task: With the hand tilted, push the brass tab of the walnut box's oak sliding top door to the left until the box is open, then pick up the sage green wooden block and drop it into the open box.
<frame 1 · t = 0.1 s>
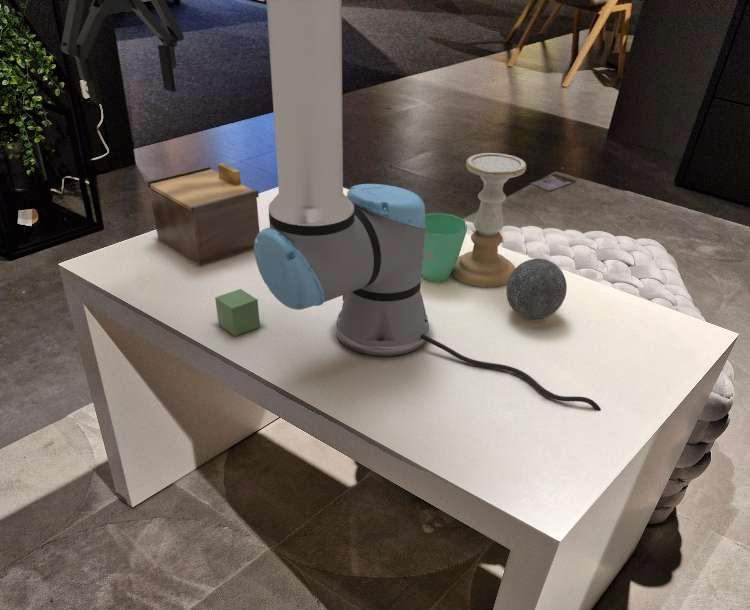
hand: (134, 96, 124), 28 cm above the table, tool pointing down, fingers open, 13 cm apart
mug: (426, 272, 140), on the table
decorative ball: (531, 317, 128), on the table
sliding lid: (201, 182, 140), point 12 cm above the table, slide at 0.0 cm
candle holder: (482, 274, 141), on the table
block: (239, 325, 124), on the table
walnut box: (209, 242, 148), on the table
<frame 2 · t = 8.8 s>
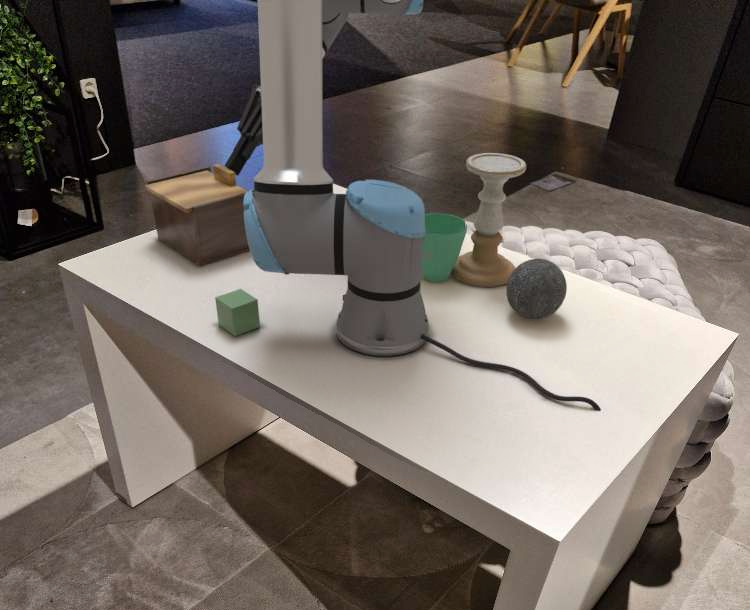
hand: (231, 170, 143), 13 cm above the table, tool tilted 45°, fingers closed
sliding lid: (196, 184, 140), point 12 cm above the table, slide at 1.1 cm, touching gripper
everything else where it was.
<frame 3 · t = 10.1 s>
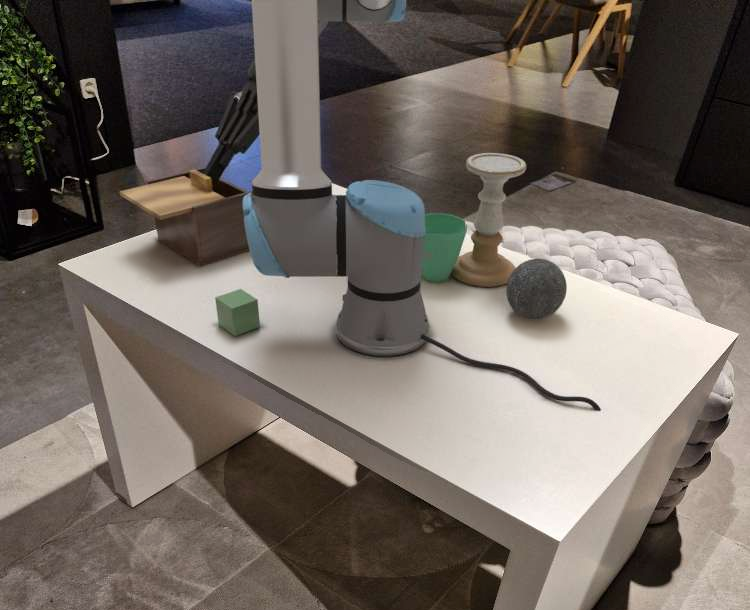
hand: (209, 179, 141), 12 cm above the table, tool tilted 45°, fingers closed
sliding lid: (171, 190, 137), point 12 cm above the table, slide at 6.3 cm, touching gripper
everything else where it was.
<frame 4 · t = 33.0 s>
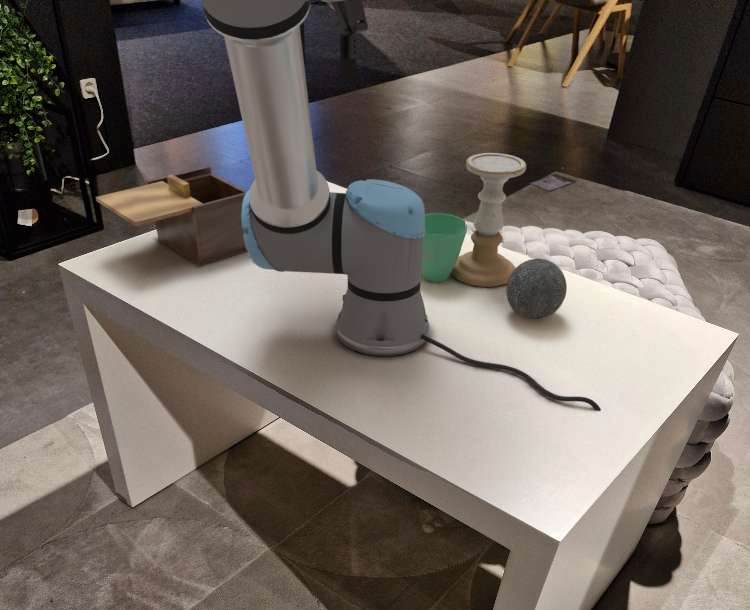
hand: (322, 72, 124), 32 cm above the table, tool pointing down, fingers open, 13 cm apart
sliding lid: (148, 195, 135), point 12 cm above the table, slide at 11.1 cm
block: (221, 235, 149), point 1 cm above the table, touching walnut box
everything else where it was.
at the end: sliding lid slide at 11.1 cm; block inside the target area on the walnut box (2.9 cm from its centre), point 0.8 cm above the walnut box's base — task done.
